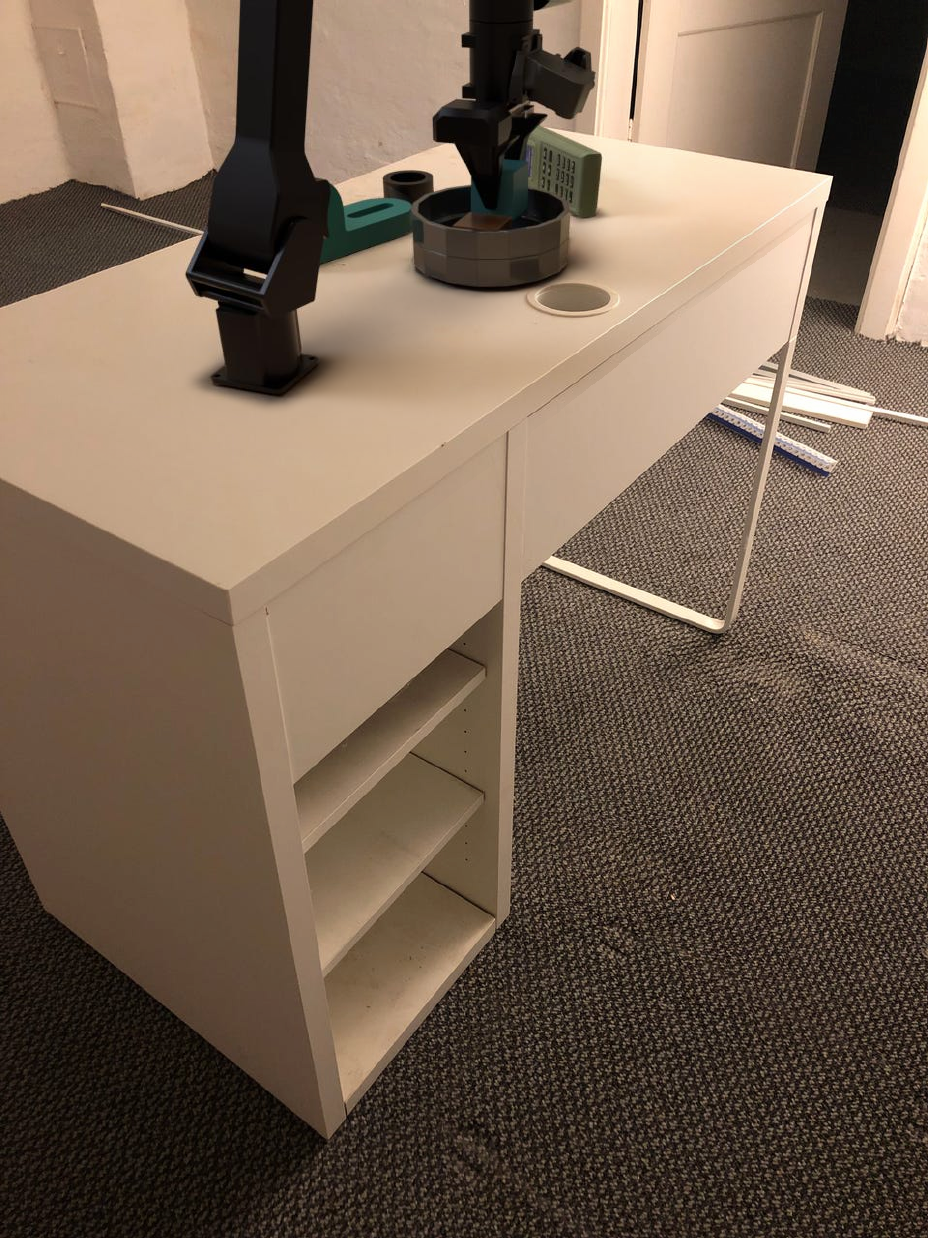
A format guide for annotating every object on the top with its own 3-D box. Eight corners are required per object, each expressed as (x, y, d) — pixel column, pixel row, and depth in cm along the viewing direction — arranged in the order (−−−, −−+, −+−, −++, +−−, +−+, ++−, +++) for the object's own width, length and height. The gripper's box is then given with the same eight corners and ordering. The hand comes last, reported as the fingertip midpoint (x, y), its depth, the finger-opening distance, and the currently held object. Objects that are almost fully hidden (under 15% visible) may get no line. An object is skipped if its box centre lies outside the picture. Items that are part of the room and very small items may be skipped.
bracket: (296, 272, 98) (286, 188, 93) (254, 256, 102) (243, 175, 97) (425, 227, 108) (422, 150, 103) (383, 214, 112) (378, 139, 107)
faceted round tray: (538, 300, 92) (540, 239, 88) (389, 279, 96) (385, 221, 93) (585, 247, 103) (588, 191, 99) (449, 231, 107) (448, 177, 104)
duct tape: (355, 208, 114) (353, 181, 112) (412, 187, 120) (411, 161, 118) (405, 220, 110) (404, 193, 108) (462, 198, 116) (461, 172, 114)
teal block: (513, 220, 96) (513, 172, 94) (470, 216, 98) (470, 168, 95) (527, 207, 99) (529, 160, 97) (486, 203, 101) (486, 157, 98)
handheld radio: (575, 219, 110) (477, 164, 128) (600, 216, 111) (500, 161, 129) (581, 154, 106) (479, 106, 123) (607, 151, 107) (503, 104, 125)
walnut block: (495, 277, 95) (496, 230, 92) (453, 271, 96) (452, 225, 94) (511, 262, 98) (512, 216, 95) (470, 256, 100) (469, 211, 97)
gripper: (555, 41, 79) (547, 240, 89) (617, 7, 92) (604, 184, 102) (427, 33, 82) (433, 227, 92) (504, 2, 96) (502, 173, 106)
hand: (499, 201), depth 98 cm, fingers closed on teal block, 4 cm apart
